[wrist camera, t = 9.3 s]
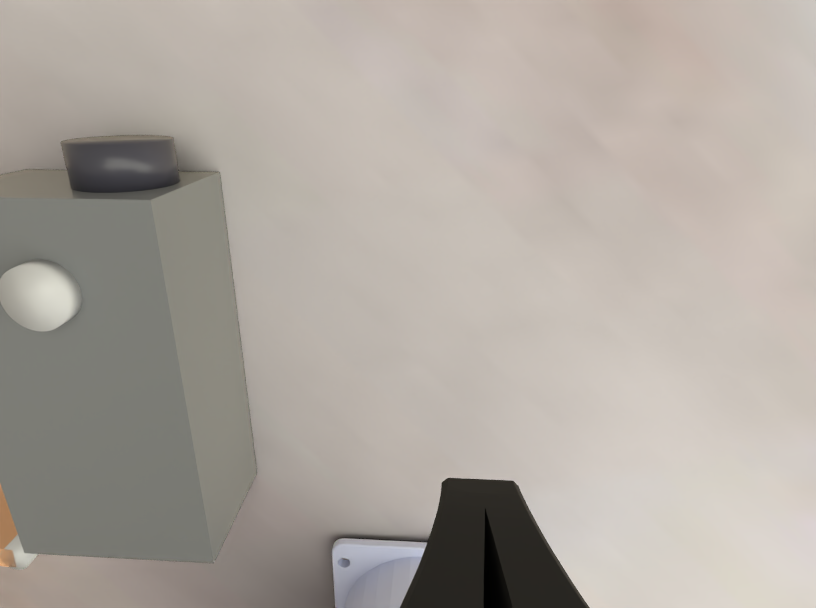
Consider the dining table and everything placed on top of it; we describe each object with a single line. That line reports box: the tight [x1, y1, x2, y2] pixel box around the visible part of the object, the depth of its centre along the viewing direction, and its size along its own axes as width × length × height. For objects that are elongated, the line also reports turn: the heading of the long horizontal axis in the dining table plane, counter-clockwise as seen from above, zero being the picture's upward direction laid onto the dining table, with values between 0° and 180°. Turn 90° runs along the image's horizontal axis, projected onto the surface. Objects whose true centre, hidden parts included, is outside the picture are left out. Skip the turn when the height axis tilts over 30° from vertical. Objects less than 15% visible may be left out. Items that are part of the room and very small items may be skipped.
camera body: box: [0, 135, 257, 563], centre depth 17 cm, size 13×6×5 cm, turn 0°
